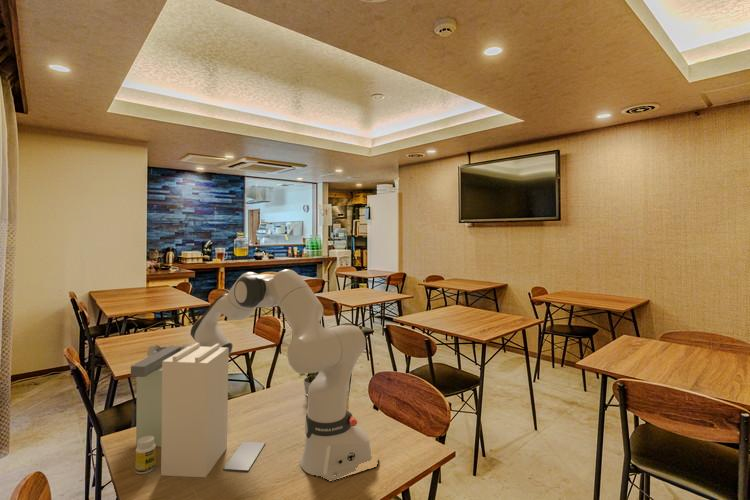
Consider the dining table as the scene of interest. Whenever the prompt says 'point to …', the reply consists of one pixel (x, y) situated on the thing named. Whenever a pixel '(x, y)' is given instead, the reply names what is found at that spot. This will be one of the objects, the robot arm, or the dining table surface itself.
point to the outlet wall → (194, 410)
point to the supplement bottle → (145, 455)
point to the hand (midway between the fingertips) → (168, 348)
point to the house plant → (309, 380)
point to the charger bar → (153, 362)
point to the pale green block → (149, 406)
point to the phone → (244, 457)
